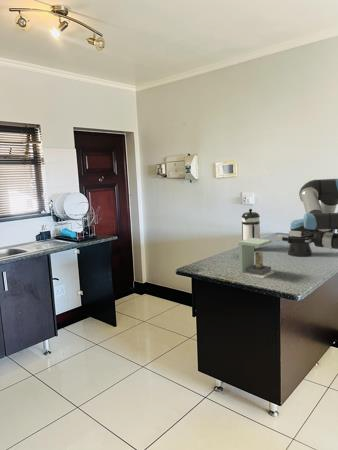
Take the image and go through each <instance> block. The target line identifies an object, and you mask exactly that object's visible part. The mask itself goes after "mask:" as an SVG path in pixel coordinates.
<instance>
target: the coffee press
mask: <svg viewBox="0 0 338 450" xmlns="http://www.w3.org/2000/svg"><path fill="white" fill-rule="evenodd" d="M260 223H261V222H260V214H259V213H258V212H255V211H253V209H252V208H249V209H248V211H247V212H244V213H242V215H241V231H242V232H241V238H242V240H246V239H249V238H258V239H261V238H260V237H261V236H260V229H261V228H260ZM242 240H241V241H242ZM256 249H259V250H261V249H262V247H255V246H254V252H256Z"/></svg>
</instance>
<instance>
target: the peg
mask: <svg viewBox="0 0 338 450" xmlns="http://www.w3.org/2000/svg"><path fill="white" fill-rule="evenodd" d="M263 254H264V253H263V252H262V251H258V252H256V251H255V252H254V262H255V265H256V269H263V266H264V261H263V259H264V257H263V256H264V255H263Z"/></svg>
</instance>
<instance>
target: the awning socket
mask: <svg viewBox="0 0 338 450" xmlns="http://www.w3.org/2000/svg"><path fill="white" fill-rule="evenodd" d="M271 243H272V239H266V238H265V239H264V238H260V239H258V238H249V239H246V240H240V241H238V268H239V269H238V271H239V272H238V273H239V274H240V273H241V275H246V276H249V277H256V278H260V279H261V278H262V279H264V278H266V277H268V276H270V275H272V274H274V273H275V272H276V271H273V270H272V267H271V266H267V265H263V269H256V264H255V251H254V246H255V247H259V248H262V247H264V246H267V245H269V244H271Z"/></svg>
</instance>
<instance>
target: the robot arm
mask: <svg viewBox="0 0 338 450" xmlns="http://www.w3.org/2000/svg"><path fill="white" fill-rule="evenodd" d="M298 195H299V199H300V201H301V202H302V203H303V206H304V211H305V214H304V215H303V218H301V219H300V218H299V219H294V220H292V221H291V222H290V227H289V229H290V230H289V231H288V232H289V233H288V235H279V234H278V235H277V234H276V241H279V242H287V244H288V245H289V246H288V249H287V254H288V255H289V256H291V257H292V256H293V257H310V256H312V249H311V245H310V244H312V243H313V244H314V246H315V247H317V248H325V249H329V250H333V249H334V250H338V211H337V212H335V211H336V208H337V206H338V178H327V179H326V178H325V179H312V180H309V181H308V182H306V183H303V185H302V186H301V188H300V189H299V194H298ZM336 230H337V231H336Z"/></svg>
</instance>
